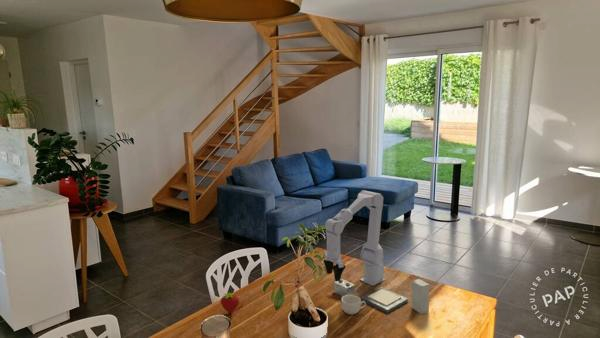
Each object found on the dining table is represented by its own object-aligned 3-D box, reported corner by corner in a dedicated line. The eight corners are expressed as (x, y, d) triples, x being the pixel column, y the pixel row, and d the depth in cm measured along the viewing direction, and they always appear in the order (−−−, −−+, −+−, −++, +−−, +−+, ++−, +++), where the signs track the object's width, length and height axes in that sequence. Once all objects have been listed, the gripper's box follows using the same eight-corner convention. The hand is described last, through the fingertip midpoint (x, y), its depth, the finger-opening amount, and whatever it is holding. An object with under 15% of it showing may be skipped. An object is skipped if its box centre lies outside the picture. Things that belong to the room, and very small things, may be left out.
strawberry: (237, 318, 154) (236, 294, 153) (219, 317, 155) (218, 293, 154) (241, 310, 160) (240, 287, 159) (223, 309, 161) (222, 286, 159)
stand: (381, 290, 176) (381, 285, 176) (407, 301, 166) (407, 297, 165) (361, 300, 167) (361, 295, 167) (387, 313, 157) (387, 308, 156)
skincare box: (429, 312, 157) (430, 284, 155) (420, 314, 156) (422, 286, 153) (418, 305, 163) (419, 278, 161) (410, 307, 161) (411, 280, 159)
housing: (341, 288, 178) (341, 277, 177) (354, 295, 172) (354, 283, 171) (333, 292, 175) (333, 280, 174) (346, 299, 169) (347, 287, 168)
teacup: (342, 316, 155) (342, 304, 154) (340, 306, 162) (340, 294, 161) (367, 316, 155) (367, 304, 154) (364, 306, 162) (364, 294, 161)
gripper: (317, 242, 170) (317, 271, 172) (332, 254, 157) (332, 285, 159) (332, 240, 173) (332, 269, 175) (348, 251, 160) (347, 282, 162)
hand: (333, 276), depth 167 cm, fingers open, 7 cm apart
